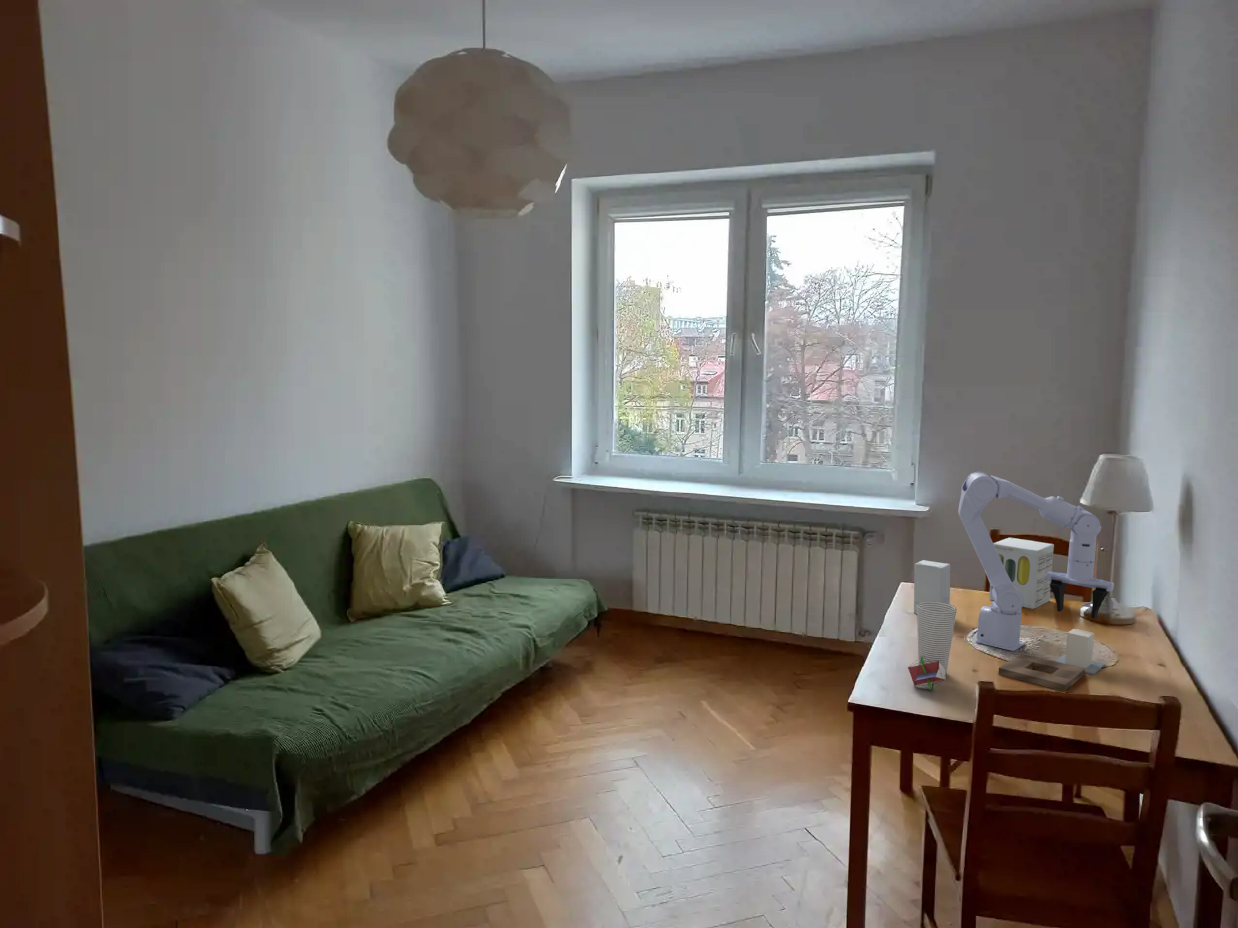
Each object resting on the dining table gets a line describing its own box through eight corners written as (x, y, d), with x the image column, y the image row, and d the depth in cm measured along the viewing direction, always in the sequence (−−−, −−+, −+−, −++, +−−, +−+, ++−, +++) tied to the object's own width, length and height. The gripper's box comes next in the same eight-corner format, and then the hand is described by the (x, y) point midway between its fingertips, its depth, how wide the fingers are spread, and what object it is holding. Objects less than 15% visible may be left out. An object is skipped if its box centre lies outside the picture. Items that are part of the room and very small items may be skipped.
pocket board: (998, 673, 193) (998, 667, 193) (1020, 659, 203) (1021, 653, 203) (1064, 691, 183) (1065, 684, 183) (1084, 674, 193) (1085, 668, 193)
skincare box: (949, 615, 237) (953, 564, 235) (939, 620, 233) (943, 567, 231) (921, 609, 243) (924, 558, 241) (911, 613, 239) (914, 561, 237)
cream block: (1064, 663, 199) (1067, 632, 198) (1070, 658, 203) (1073, 628, 202) (1085, 668, 196) (1088, 637, 195) (1091, 663, 200) (1094, 632, 199)
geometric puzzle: (899, 679, 183) (924, 654, 180) (902, 668, 189) (926, 644, 187) (926, 702, 181) (952, 678, 179) (928, 691, 188) (953, 667, 185)
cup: (931, 681, 188) (936, 613, 186) (904, 668, 196) (908, 603, 194) (960, 675, 191) (965, 609, 190) (933, 663, 199) (937, 599, 197)
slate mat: (1051, 664, 200) (1051, 662, 200) (1064, 655, 206) (1064, 653, 206) (1093, 674, 193) (1093, 673, 193) (1105, 665, 200) (1105, 663, 200)
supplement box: (987, 599, 254) (991, 542, 252) (1005, 591, 263) (1009, 536, 261) (1034, 609, 244) (1038, 550, 242) (1050, 600, 254) (1054, 543, 252)
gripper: (1044, 557, 209) (1039, 610, 211) (1109, 568, 199) (1104, 624, 200) (1053, 553, 214) (1049, 605, 216) (1118, 563, 204) (1113, 617, 205)
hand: (1076, 613), depth 208 cm, fingers open, 7 cm apart
